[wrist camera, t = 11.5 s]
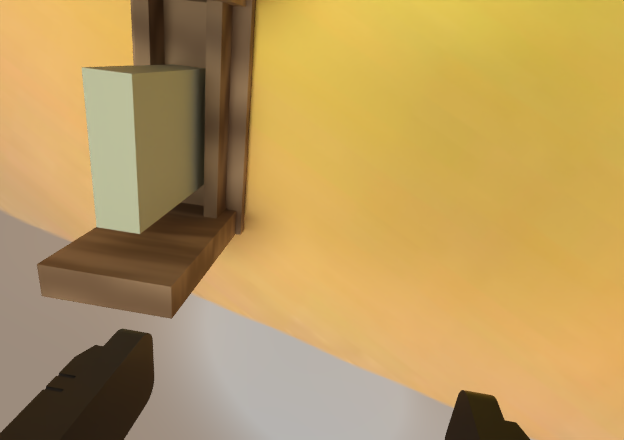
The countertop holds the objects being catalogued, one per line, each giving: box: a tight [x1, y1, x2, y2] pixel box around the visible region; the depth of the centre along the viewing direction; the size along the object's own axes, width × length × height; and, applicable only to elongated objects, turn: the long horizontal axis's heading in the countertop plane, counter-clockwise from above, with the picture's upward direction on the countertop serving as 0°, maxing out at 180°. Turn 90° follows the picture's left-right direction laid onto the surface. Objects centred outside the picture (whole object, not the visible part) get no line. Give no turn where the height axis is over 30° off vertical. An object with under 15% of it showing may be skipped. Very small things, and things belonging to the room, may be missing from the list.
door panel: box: [82, 64, 206, 234], centre depth 31 cm, size 10×4×12 cm, turn 174°
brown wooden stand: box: [37, 0, 256, 318], centre depth 30 cm, size 22×10×15 cm, turn 174°
